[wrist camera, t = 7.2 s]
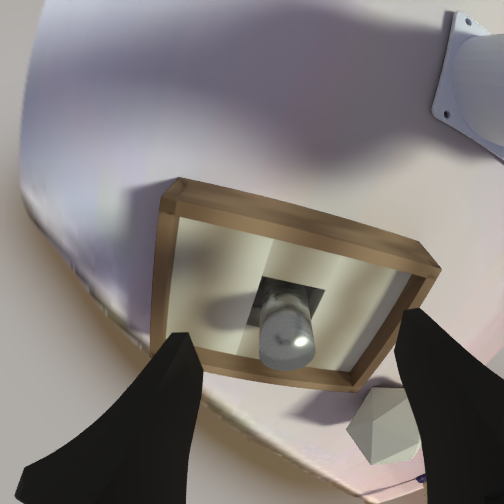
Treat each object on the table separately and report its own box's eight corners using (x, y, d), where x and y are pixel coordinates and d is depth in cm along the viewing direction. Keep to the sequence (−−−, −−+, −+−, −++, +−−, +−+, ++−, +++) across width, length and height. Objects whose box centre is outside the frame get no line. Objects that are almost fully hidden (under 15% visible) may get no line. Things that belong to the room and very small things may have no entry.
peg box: (419, 241, 18) (441, 269, 15) (349, 360, 24) (357, 392, 21) (179, 177, 17) (161, 196, 14) (161, 325, 23) (149, 357, 20)
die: (329, 409, 29) (365, 475, 25) (346, 405, 22) (391, 490, 17) (389, 373, 31) (424, 436, 26) (420, 357, 23) (462, 436, 18)
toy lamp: (412, 481, 49) (422, 535, 34) (416, 476, 47) (427, 533, 32) (430, 474, 48) (441, 528, 34) (434, 469, 46) (447, 526, 31)
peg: (295, 262, 20) (304, 326, 14) (311, 295, 21) (322, 361, 16) (253, 278, 20) (248, 344, 15) (271, 310, 22) (272, 376, 16)
